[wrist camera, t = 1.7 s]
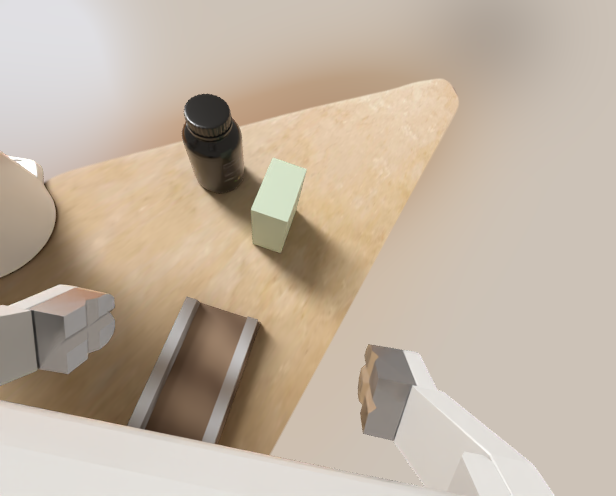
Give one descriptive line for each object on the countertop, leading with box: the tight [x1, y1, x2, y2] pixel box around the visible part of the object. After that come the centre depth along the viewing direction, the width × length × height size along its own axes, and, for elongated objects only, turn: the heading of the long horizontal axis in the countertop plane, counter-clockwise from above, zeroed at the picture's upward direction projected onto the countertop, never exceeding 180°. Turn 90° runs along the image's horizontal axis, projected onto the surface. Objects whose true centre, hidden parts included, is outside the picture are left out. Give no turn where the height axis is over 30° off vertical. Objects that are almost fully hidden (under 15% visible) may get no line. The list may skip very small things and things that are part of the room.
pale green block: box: [251, 158, 307, 253], centre depth 36 cm, size 7×4×10 cm, turn 163°
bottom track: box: [127, 297, 260, 445], centre depth 29 cm, size 16×9×6 cm, turn 163°
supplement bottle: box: [182, 94, 244, 193], centre depth 36 cm, size 7×7×12 cm
